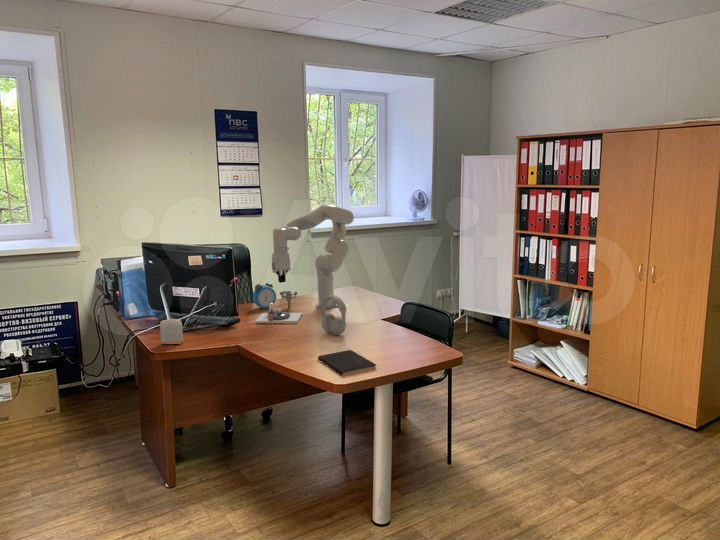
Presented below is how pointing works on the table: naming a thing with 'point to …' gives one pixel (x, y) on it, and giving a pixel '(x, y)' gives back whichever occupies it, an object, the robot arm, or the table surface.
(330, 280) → the robot arm
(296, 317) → the base plate
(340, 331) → the headphones
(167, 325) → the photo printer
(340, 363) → the hardcover book
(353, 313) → the table surface
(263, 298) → the alarm clock
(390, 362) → the table surface
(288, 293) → the mechanical component
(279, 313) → the flange
